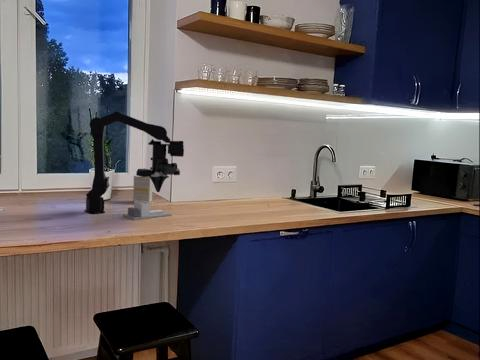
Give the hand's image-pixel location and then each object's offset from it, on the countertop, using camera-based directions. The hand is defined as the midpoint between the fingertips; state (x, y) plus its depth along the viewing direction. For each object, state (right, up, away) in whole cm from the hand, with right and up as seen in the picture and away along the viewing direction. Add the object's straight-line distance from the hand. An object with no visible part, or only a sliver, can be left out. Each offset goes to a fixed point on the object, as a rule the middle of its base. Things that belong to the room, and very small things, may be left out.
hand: (158, 191), depth 189 cm
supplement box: (-12, -6, +25) cm, 28 cm away
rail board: (-4, -10, -3) cm, 11 cm away
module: (-6, -9, -5) cm, 12 cm away
